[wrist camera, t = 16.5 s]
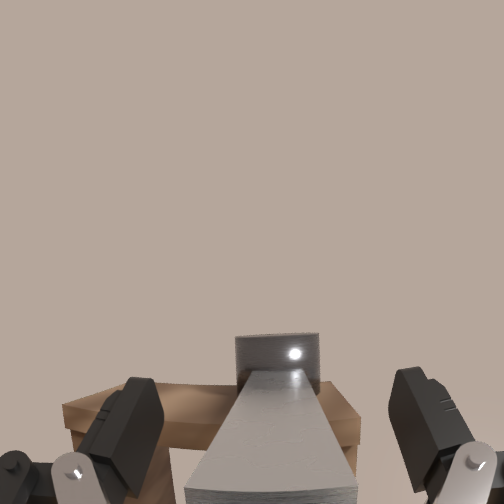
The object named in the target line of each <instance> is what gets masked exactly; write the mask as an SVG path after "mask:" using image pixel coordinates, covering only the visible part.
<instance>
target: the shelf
mask: <svg viewBox="0 0 504 504" xmlns="http://www.w3.org/2000/svg"><path fill="white" fill-rule="evenodd" d="M125 384H126V383H125ZM125 384H122V385H119V386H116V387H114V388H111V389H108V390H105V391H102V392H99V393H96V394H93V395H90V396H87V397H84V398H81V399H78V400H75V401H71V402H69V403H65V404H62V408H63V416H64V423H65V428H67V429H70V430H71V436H72V442H73V448H74V452H76V450H77V449H78V447H79V445H80V443H81V442H82V440H83V438H84V436H85V434H86V433H87V431H88V429H89V427H90V426H91V424H92V422H93V420H95V417H96V415H97V413H98V412H99V411H100V408H101V407H102V405H103V403H104V401H105V400H106V398H107V397H109V396H110V395H111V394H112V393H114V392H115V391H116V390H123V388H124V386H125ZM155 385H156V388H157V392H158V395H159V398H160V401H161V404H162V407H163V410H164V425H163V429H162V431H161V434H160V437H159V440H158V443H157V445H156V448H155V451H154V454H153V457H152V459H151V462H150V465H149V468H148V471H147V474H146V477H145V480H144V482H143V485H142V488H141V491H140V494H139V497H138V499H135V498H131V497H126V498H125V500H124V503H123V504H176V500H175V493H174V486H173V479H172V471H171V464H170V455H169V447H170V448H180V449H192V450H205V451H207V449H208V448H209V446H210V444H211V443H212V441H213V439H214V438H215V436H216V434H217V433H218V431H219V429H220V427H221V426H222V424H223V422H224V421H225V419H226V417H227V415H228V414H229V412H230V410H231V409H232V407H233V405H234V403H235V402H236V400H237V398H238V396H237V385H233V386H232V385H188V384H168V383H155ZM316 397H317V399H318V401H319V404H320V406H321V408H322V410H323V412H324V414H325V416H326V418H327V420H328V422H329V424H330V426H331V429H332V431H333V433H334V435H335V437H336V439H337V441H338V443H339V445H340V447H341V449H342V451H343V454H344V456H345V458H346V460H347V462H348V464H349V466H350V468H351V470H352V472H353V474H354V476H355V477H356V462H357V445H359V444H360V428H361V427H360V426H361V417H360V416H359V415H358V413H357V412H356V411H355V410H354V409H353V408H352V406H351V405H350V404H349V403H348V402H347V401H346V399H345V398H344V397H343V396H342V395H341V393H340V392H339V391H338V390H337V389H336V387H335V386H334V385H333V384H332V383H331V382H330V381H327V382H320V393H319V394H318V395H317V396H316Z"/></svg>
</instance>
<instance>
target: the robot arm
mask: <svg viewBox="0 0 504 504" xmlns="http://www.w3.org/2000/svg"><path fill="white" fill-rule="evenodd" d="M388 406H389V407H388V411H389V418H390V422H391V424H392V427H393V430H394V433H395V436H396V439H397V441H398V444H399V447H400V450H401V453H402V456H403V459H404V462H405V465H406V468H407V471H408V474H409V478H410V480H411V484H412V487H413V490H414V493H417V492H421V491H424V490H426V492H427V495H428V498H427V499H426V501H425V503H424V504H504V451H500V452H495V451H494V450H493V448H492V447H491V446H489V445H488V444H485V443H483V442H478V441H475V439H474V438H473V436H472V434H471V432H470V430H469V428H468V426H467V425H466V423H465V421H464V419H463V417H462V416H461V414H460V412H459V410H458V409H456V405H455V403H454V402H453V400H451V397H450V395H449V393H448V392H447V390H446V388H445V387H444V386H443V385H442V384H440V383H439V382H438V381H436V380H435V379H429V380H428V379H427V377H426V376H425V374H424V372H423V370H422V369H421V368H420V367H412V368H406V369H400V370H398V371H397V372H396V375H395V379H394V383H393V388H392V392H391V396H390V400H389V405H388ZM163 425H164V410H163V407H162V404H161V401H160V398H159V395H158V392H157V388H156V385H155V382H154V380H153V379H151V378H139V377H130V378H129V379H128V381H127V382H126V384H125V386H124V388H123V390H116V391H115V392H114V393H112V394H111V395H110V396H109V397H107V398H106V400H105V401H104V403H103V405H102V407H101V408H100V411H99V412H98V413H97V415H96V417H95V420H93V422H92V424H91V426H90V427H89V429H88V431H87V433H86V434H85V436H84V438H83V440H82V442H81V443H80V445H79V447H78V449H77V450H76V452H70V453H66V454H63V455H62V456H60V457H58V458H57V459H56V460H55V462H54V463H36V462H32V461H31V460H30V459H29V457H28V456H27V455H26V454H25V453H24V452H21V451H16V450H15V451H9V452H7V453H5V454H4V455H2V456H1V457H0V504H123V503H124V500H125V498H126V497H131V498H135V499H138V497H139V494H140V491H141V488H142V485H143V482H144V480H145V477H146V474H147V471H148V468H149V465H150V462H151V459H152V457H153V454H154V451H155V448H156V445H157V443H158V440H159V437H160V434H161V431H162V429H163Z"/></svg>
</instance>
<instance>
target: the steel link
mask: <svg viewBox="0 0 504 504" xmlns="http://www.w3.org/2000/svg"><path fill="white" fill-rule="evenodd" d="M235 351H236V376H237V396H238V398H237V400H236V402H235V403H234V405H233V407H232V409H231V410H230V412H229V414H228V415H227V417H226V419H225V421H224V422H223V424H222V426H221V427H220V429H219V431H218V433H217V434H216V436H215V438H214V439H213V441H212V443H211V444H210V446H209V448H208V449H207V451H206V453H205V454H204V456H203V458H202V459H201V461H200V463H199V464H198V466H197V468H196V469H195V471H194V472H193V474H192V475H191V477H190V479H189V480H188V482H187V483H186V485H185V487H184V490H185V498H186V504H356V503H357V493H358V483H357V480H356V478H355V476H354V474H353V472H352V470H351V468H350V466H349V464H348V462H347V460H346V458H345V456H344V454H343V451H342V449H341V447H340V445H339V443H338V441H337V439H336V437H335V435H334V433H333V431H332V429H331V426H330V424H329V422H328V420H327V418H326V416H325V414H324V412H323V410H322V408H321V406H320V404H319V401H318V399H317V397H316V396H317V395H318V394H319V393H320V352H319V333H285V334H265V335H249V336H248V335H247V336H237V337H235Z"/></svg>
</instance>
